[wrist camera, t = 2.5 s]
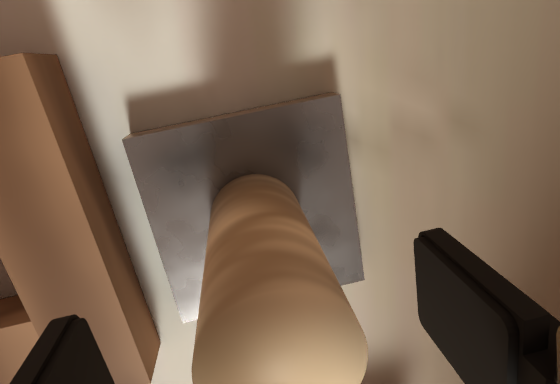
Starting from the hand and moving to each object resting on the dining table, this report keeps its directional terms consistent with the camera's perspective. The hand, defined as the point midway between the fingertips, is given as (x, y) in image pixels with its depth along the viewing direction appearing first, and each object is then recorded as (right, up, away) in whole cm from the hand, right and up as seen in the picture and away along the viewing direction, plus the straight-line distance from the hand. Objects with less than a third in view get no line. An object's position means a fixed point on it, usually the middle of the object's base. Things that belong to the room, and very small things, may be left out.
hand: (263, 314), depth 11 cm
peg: (-1, +2, +8) cm, 9 cm away
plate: (-1, +3, +10) cm, 10 cm away
